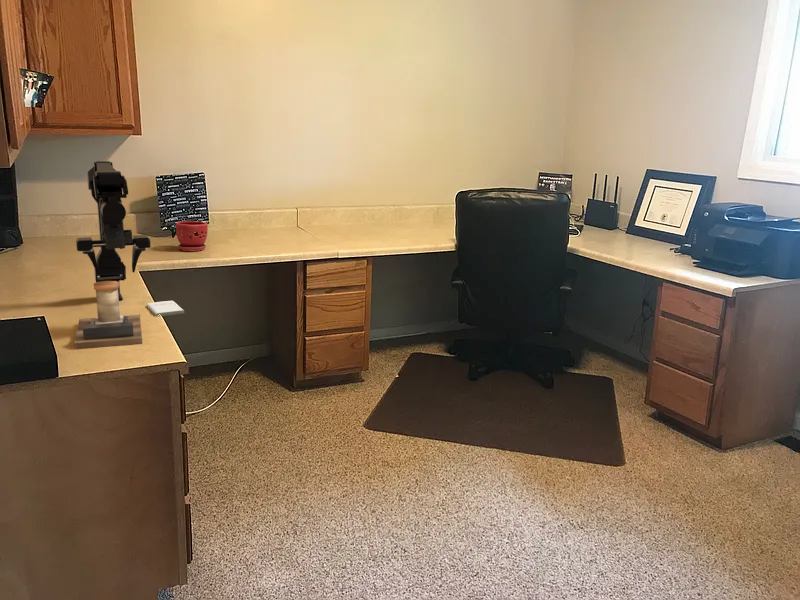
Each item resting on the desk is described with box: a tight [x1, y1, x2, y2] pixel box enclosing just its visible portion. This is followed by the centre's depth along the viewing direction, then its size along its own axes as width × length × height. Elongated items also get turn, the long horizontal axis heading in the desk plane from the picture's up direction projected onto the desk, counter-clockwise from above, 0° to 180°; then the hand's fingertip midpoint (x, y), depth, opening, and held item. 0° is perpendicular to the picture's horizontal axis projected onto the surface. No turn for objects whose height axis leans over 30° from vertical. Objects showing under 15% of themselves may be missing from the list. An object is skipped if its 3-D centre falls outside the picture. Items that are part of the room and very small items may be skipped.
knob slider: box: [93, 281, 124, 325], centre depth 189 cm, size 7×7×11 cm
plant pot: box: [175, 220, 209, 252], centre depth 299 cm, size 13×13×12 cm
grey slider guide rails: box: [83, 315, 134, 340], centre depth 186 cm, size 17×12×3 cm
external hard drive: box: [146, 300, 185, 317], centre depth 211 cm, size 2×8×12 cm
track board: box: [74, 314, 143, 350], centre depth 187 cm, size 22×16×2 cm
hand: (115, 273), depth 192 cm, fingers open, 9 cm apart
